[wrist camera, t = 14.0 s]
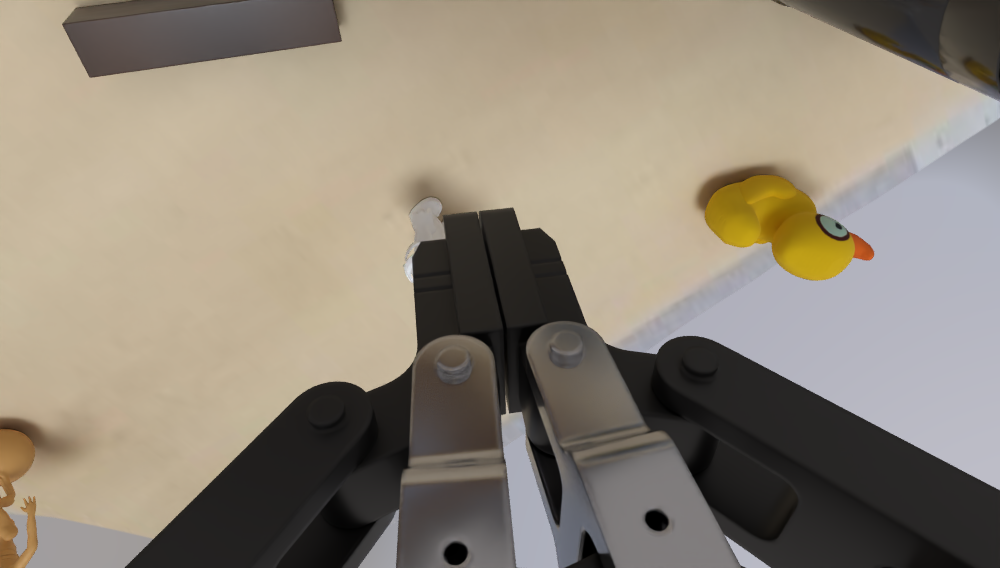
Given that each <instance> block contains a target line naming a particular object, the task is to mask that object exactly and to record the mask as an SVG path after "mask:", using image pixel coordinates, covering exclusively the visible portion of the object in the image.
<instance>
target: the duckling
mask: <svg viewBox="0 0 1000 568" xmlns="http://www.w3.org/2000/svg"><path fill="white" fill-rule="evenodd" d="M705 220H706V223H707V225H708V226H709V228H710V229H711V230H712V231H713V232H714V233H715V234H716V235H717V236H718V237H719V238H720V239H721V240H722V241H723V242H724V243H726V244H729V245H732V246H736V247H749V246H751V245H753V244H754V243H758V244H764V243H767V242H770V243H772V252H773V255H774V258H775V260H776V261H777V263H778V264H779V265H780V266H781V267H782V268H783V269H785V270H786V271H787V272H789V273H791V274H793V275H795V276H797V277H800V278H803V279H807V280H817V281H818V280H826V279H829V278H832V277H834V276H836V275H838V274H839V273H840V272H842V271H843V270H844V269H845V268H846V267H847V266H848V264H849V263H850V262H851V260H852V258H858V259H862V260H871V259H872V258H873V257H874V251H873V249H872V248H871V246H870V245H869V244H868V243H866V242H865V241H864V240H863V239H861V238H859V237H858V236H857V235H855V234H853V233H850V232H848V231H847V229H846V228H845V227H844V226H843V225H841V224H840V223H839V222H837V221H836V220H834V219H832V218H830V217H827V216H825V215H821V214H817V211H816V207H815V205H814V203H813V201H812V200H811V199H810V198H809V197H808V196H807V195H806V194H805V193H803V192H802V191H800V190H798V189H796V188H795V187H794V185H793V184H792V183H791V182H789V181H788V180H786V179H784V178H782V177H779V176H774V175H756V176H752V177H750V178H748V179H746V180H745V181H743V182H738V183H733V184H730V185H727V186H725V187H722V188H720V189H719V190H717V191H716V192H715V193H714V194H713V196H712V197H711V199H710V200H709V203H708V205H707V207H706V210H705Z"/></svg>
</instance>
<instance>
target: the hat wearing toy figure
mask: <svg viewBox="0 0 1000 568" xmlns="http://www.w3.org/2000/svg"><path fill="white" fill-rule="evenodd" d="M441 210H442V204H441V202H440V201H439V200H438V199H436V198H433V197H429V198H426V199H423V200H422V201H420V202H419V203H418V204H417V205H416V206H415V207H414V208H413V209H412V210H411V212H410V214H409V217H410V220H411V222H412V226H413V228H414V231H415V238H414V242H413V243H412V244H411V245H410V246H409V248H408V250H407V252H406V256H405V260H406V259H407V256H408V254H409V252H410V251H411V250H412V249H413V248H414V252H415V251H416V249H417V248H418V246H419V244H420V242H421V241H430V240H439V239H445V232H444V222H442V223H441V222H440V220H439V219H438V218H437V217H438V216H439V214H440V213H441ZM413 255H414V253H413V254H412V255H411V256H410V257H409V258H408V259H407V260H406V263H405V264H404V265H403V267H404V270H405V274H406V276H407V277H408V279H409V280H410V281H411V282H413V278H412V276H413V268H412V257H413ZM411 274H412V276H411Z"/></svg>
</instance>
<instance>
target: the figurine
mask: <svg viewBox="0 0 1000 568" xmlns="http://www.w3.org/2000/svg"><path fill="white" fill-rule="evenodd" d="M34 457H35V448H34V445H33V443H32V441H31V440H30V439H29V438H28V437H27V436H26V435H25V434H23V433H21V432H19V431H16V430H11V429H0V486H2V487H3V489H4V491H5V493H6V494H7V496H6V497H3V498H1V497H0V568H25V566H26V565H27V564H28V562H29V561H30V559H31V558H32V556H33V555H34V553H35V551H36V549H37V545H38V540H37V529H36V520H35V511H36V501H35V496H34V497H33V502H32V501H31V498H30V496H29V497H28V498H29V503H27V501H26V500H25V499H23V500H24V502H25V505H26V508H23V507H21V509H22V510H23V511H24V512H27V513H28V520H27V534H28V540H27V549H26V550H25V551H24V552H23V553H22V555H21V556H20V557H19V556H18V554H17V552H16V546H15V545H14V543H13V538H14V537H15V536H16V535H17V533H18V529H17V527H16V526H15V523H14V521H13V520H12V519H11V518H10V517H9V515H8V514H7V512H6V511H4V510H3V509H2V507H8V506H10V505H12V504H13V503H14V497H15V491H14V489H13V487H12V484H11V483H12V482H14V481H16V480H18V479H19V478H21V477H22V476H23V475H24V474H25V473H26V472H27V471H28V470H29V468H30V467H31V465H32V463H33V461H34Z"/></svg>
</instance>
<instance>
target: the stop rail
mask: <svg viewBox="0 0 1000 568" xmlns="http://www.w3.org/2000/svg"><path fill="white" fill-rule="evenodd" d="M62 25H63V27H64V29H65V31H66V33H67V35H68V37H69V39H70V41H71V42H72V44H73V46H74V48H75V50H76V52H77V54H78V56H79V58H80V60H81V62H82V64H83V65H84V67H85V69H86V71H87V73H88V75H89V77H90V78H92V77H99V76H106V75H113V74H120V73H127V72H134V71H140V70H147V69H154V68H161V67H168V66H175V65H182V64H189V63H196V62H203V61H210V60H217V59H224V58H231V57H238V56H245V55H252V54H258V53H265V52H272V51H279V50H286V49H293V48H300V47H307V46H314V45H321V44H328V43H335V42H341V41H342V40H341V35H340V31H339V26H338V22H337V17H336V13H335V8H334V4H333V0H138V1H130V2H122V3H114V4H106V5H98V6H90V7H82V8H76V9H75V10H74V11H73V12H72V13H71V14H70V16H69V17H68V18H67V19H66V20H65V21H64V22H63V24H62Z"/></svg>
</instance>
